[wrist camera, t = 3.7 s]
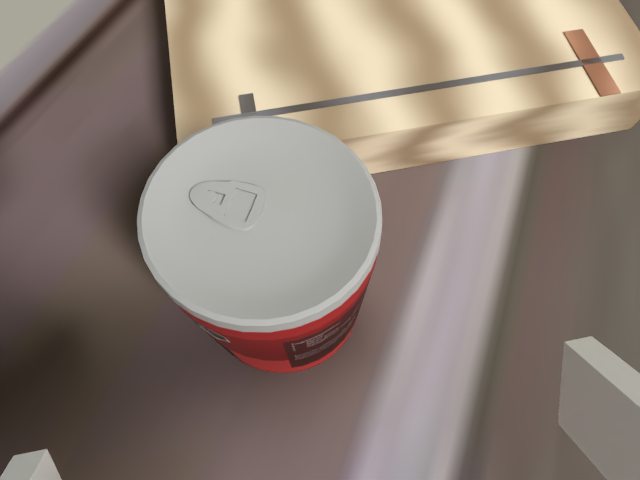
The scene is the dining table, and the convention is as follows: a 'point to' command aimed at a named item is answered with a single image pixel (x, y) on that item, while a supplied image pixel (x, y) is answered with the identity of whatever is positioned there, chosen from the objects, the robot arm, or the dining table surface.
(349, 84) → the maple plank
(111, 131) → the dining table surface
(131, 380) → the dining table surface
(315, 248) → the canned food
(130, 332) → the dining table surface
